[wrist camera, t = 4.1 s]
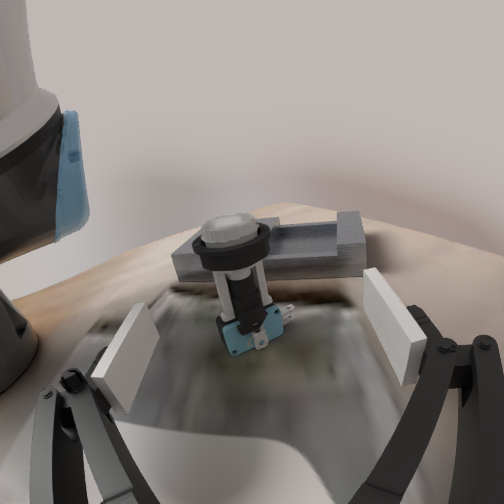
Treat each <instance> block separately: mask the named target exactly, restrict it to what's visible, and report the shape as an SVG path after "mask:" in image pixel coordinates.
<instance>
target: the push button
mask: <svg viewBox="0 0 504 504" xmlns="http://www.w3.org/2000/svg"><path fill="white" fill-rule="evenodd" d="M201 229H202V233H203V234H202V235H200V236H198V237H197V238H196V239H195V240H194V241H193V243H192V248H193V251H194V253H195V254H197V255H199V256H200V260H201V263H202V267H203V268H204V269H207V270H209V271H212V273H213V276H214V280H215V284H216V288H217V291H218V295H219V299H220V302H221V306H222V310H223V312H221V313H220V316H218V317H217V318H216V324H217V327H218V330H219V333H220V337H221V340H222V342H223V343H224V345H225V346H226V348H227V349H228V351H229V352H230V353H231V355H232V356H237V355H239V354H241V353H243V352H245V351H247V350H250V349H252V348H254V347H255V348H256V349H257V350H259V349H262V348H264V347H266V346H267V345H268V344H269V343H268V341H270V340H272V339H274V338H276V337H278V336H280V335H282V334H283V332H284V329H283V325H285V324H287V322H289V321H291V320H293V319H295V318H296V317H297V316H296V315H294V314H293V313H290V314H288V315H286V314H285V313H288V312H290V311H292V310H294V309H295V307H294V306H293V305H292V304H290V305H287V306H285V307H283V308H281V309H279V308H278V307H277V306H276V305H275V304H273V303H272V297H271V296H269V295H268V290H267V285H266V279H265V274H264V268H263V263H262V259H264V258H265V257H267V255H268V253H269V252H270V246H269V240H268V239H269V238H270V236H271V232H270V227H269V226H268V225H266V224H263V223H257V222H255V219H254V215H252V214H249V213H237V214H229V215H225V216H221V217H217V218H215V219H212V220H210V221H207V222H206V223H204V224H203V225H202V227H201ZM250 268H251V269H252V271H251V270H250ZM224 274H227V277H226V279H225V275H224ZM226 280H227V283H226ZM227 284H228V287H227ZM228 288H229V289H228ZM286 308H291V309H289V310H287V309H286ZM284 315H286V316H284ZM282 316H284V317H282ZM289 316H291V317H292V318H287V317H289ZM261 344H262V345H261Z"/></svg>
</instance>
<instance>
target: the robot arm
mask: <svg viewBox="0 0 504 504" xmlns="http://www.w3.org/2000/svg"><path fill="white" fill-rule="evenodd" d="M88 218H89V203H88V196H87V190H86V183H85V175H84V168H83V160H82V151H81V141H80V130H79V121H78V114H77V112H76V111H68V110H66V111H64V113H62V114H61V111H60V107H59V103H58V99H57V97H56V95H55V94H53V93H51V92H49V91H46V90H44V89H42V88H39V87H38V85H37V82H36V78H35V72H34V67H33V61H32V56H31V48H30V41H29V33H28V24H27V11H26V0H0V264H2V263H4V262H6V261H9V260H11V259H13V258H16V257H18V256H20V255H23V254H25V253H28V252H30V251H33V250H36V249H38V248H40V247H43V246H46V245H48V244H51V243H54V242H55V243H56V242H58V241H59V240H60V239H61V238H63V237H65V236H67V235H69V234H72V233H74V232H76V231H78V230H80V229H81V228H82V227H83V226H84V225H85V224H86V222H87V221H88ZM363 272H364V296H363V310H364V311H365V313H366V315H367V317H368V319H369V321H370V323H371V325H372V327H373V329H374V331H375V333H376V335H377V337H378V339H379V341H380V343H381V345H382V347H383V349H384V351H385V353H386V355H387V357H388V359H389V361H390V363H391V365H392V367H393V369H394V371H395V373H396V376H397V378H398V380H399V382H400V384H401V386H402V387H403V386H406V385H409V384H412V383H415V382H416V381H417V378H418V374H419V375H420V377H419V380H418V382H417V385H416V387H415V389H414V392H413V394H412V396H411V399H410V401H409V403H408V405H407V407H406V409H405V412H404V414H403V416H402V418H401V420H400V422H399V424H398V426H397V428H396V430H395V432H394V434H393V435H392V437H391V439H390V441H389V443H388V445H387V446H386V448H385V450H384V452H383V454H382V455H381V457H380V459H379V460H378V462H377V464H376V465H375V467H374V469H373V470H372V472H371V473H370V475H369V477H368V478H367V480H366V481H365V482H364V483H363V484H362V485H361V487H360V488H359V489H358V491H357V492H356V493H355V495H354V496H353V498H352V499H351V500H350V502H349V503H348V504H400V502H401V500H402V498H403V495H404V493H405V491H406V489H407V487H408V485H409V483H410V481H411V480H412V478H413V476H414V474H415V472H416V470H417V468H418V465H419V463H420V461H421V459H422V457H423V455H424V452H425V450H426V448H427V446H428V443H429V441H430V438H431V436H432V434H433V431H434V428H435V426H436V423H437V421H438V418H439V415H440V412H441V409H442V406H443V403H444V400H445V397H446V394H447V391H448V389H453V388H458V393H459V407H458V434H457V447H456V458H455V466H454V474H453V480H452V487H451V492H450V498H449V503H448V504H504V374H503V369H502V363H501V358H500V354H499V349H498V345H497V342H496V340H495V339H494V338H492V337H490V336H488V335H479V336H477V337H475V339H474V340H473V343H472V344H471V345H457V343H456V342H455V341H453V340H452V339H449V338H443V336H442V335H441V333H440V332H439V331H438V329H437V328H436V327H435V325H434V324H433V323H432V321H431V320H430V319H429V318H428V317H427V315H426V314H425V312H424V311H423V310H422V309H421V308H419V307H417V306H416V305H412V306H408V307H405V306H404V304H403V303H402V302H401V300H400V299H399V297H398V296H397V295H396V293H395V292H394V291H393V289H392V288H391V287H390V286H389V284H388V283H387V282H386V280H385V279H384V278H383V276H382V275H381V274H380V273H379V271H378V270H377V269H376V267H375V268H370V269H365V270H363ZM159 338H160V336H159V333H158V331H157V329H156V326H155V324H154V322H153V319H152V317H151V314H150V312H149V309H148V307H147V304H146V302H142V303H135V304H134V306H133V307H132V309H131V311H130V312H129V314H128V315H127V317H126V318H125V320H124V322H123V323H122V325H121V326H120V328H119V330H118V331H117V333H116V334H115V336H114V338H113V339H112V341H111V343H110V344H109V346H108V347H104V348H103V349H102V350H101V351H100V352H99V354H98V355H97V357H96V360H94V362H93V365H91V367H90V368H89V370H88V372H87V374H86V375H85V377H84V376H83V375H82V373H81V372H80V370H79V369H77V368H71V369H68V370H67V371H65V372H64V373H63V374H62V375H61V377H60V379H59V382H60V383H61V385H62V386H63V388H64V389H65V390H66V391H64V392H58V390H57V389H56V388H55V387H54V386H48V387H46V388H44V389H43V390H42V391H41V392H40V394H39V396H38V402H37V408H36V414H35V421H34V429H33V438H32V448H31V462H30V504H88V498H87V490H86V482H85V473H84V462H83V449H84V452H85V455H86V458H87V461H88V464H89V466H90V469H91V471H92V474H93V476H94V479H95V481H96V484H97V486H98V489H99V491H100V493H101V495H102V498H103V502H101V503H100V504H160V503H159V501H158V500H157V498H156V496H155V495H154V493H153V492H152V490H151V489H150V487H149V485H148V484H147V482H146V480H145V479H144V477H143V476H142V474H141V472H140V470H139V469H138V467H137V465H136V463H135V461H134V460H133V458H132V456H131V454H130V452H129V450H128V449H127V446H126V444H125V443H124V441H123V439H122V437H121V434H120V432H119V431H118V428H117V426H116V424H115V422H114V420H113V417H112V415H111V414H110V413H109V410H110V408H111V407H112V408H113V410H114V411H115V412H116V413H117V414H127V415H128V414H129V412H130V409H131V407H132V404H133V401H134V399H135V396H136V394H137V391H138V389H139V386H140V384H141V381H142V379H143V376H144V374H145V371H146V369H147V367H148V364H149V362H150V359H151V357H152V355H153V352H154V350H155V348H156V345H157V343H158V340H159ZM37 346H38V337H37V335H36V333H35V331H34V329H33V328H32V326H31V324H30V322H29V321H28V319H27V318H26V317H25V316H24V315H23V314H22V313H21V312H20V311H19V310H18V309H17V307H16V306H15V305H14V304H13V303H12V302H11V301H10V300H9V299H8V297H7V296H6V295H5V294H4V293H3V292H2V290H1V289H0V393H1V392H2V391H4V390H5V389H6V388H8V387H9V386H10V385H11V384H12V383H13V382H14V381H15V380H16V379H17V378H18V377H19V376H20V375H21V374H22V373H23V372H24V370H25V369H26V368H27V366H28V365H29V364H30V362H31V360H32V359H33V357H34V355H35V352H36V350H37Z"/></svg>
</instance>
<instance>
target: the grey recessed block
mask: <svg viewBox="0 0 504 504" xmlns="http://www.w3.org/2000/svg"><path fill="white" fill-rule="evenodd" d="M255 222H257V223H263V224H266V225H268V226H269V227H270V232H271V236H270V238H269V239H268V240H269V246H270V252H269V253H268V255H267V257H265V258H264V259H262V263H263V268H264V274H265V279H266V280H287V279H313V278H336V277H356V276H364V272H363V270H365V269H367V250H366V239H365V235H364V230H363V226H362V222H361V217H360V214H359V211H352V212H337V221H331V222H317V223H303V224H290V225H280V220H279V217H274V218H263V219H255ZM202 234H203V233H202V229H201V230H199V231H198V232H197V233H196V234H195V235H193V236H192V237H191V238H190V239H189V240H188V241H186V242H185V243H184V244H183V245H182V246H180V247H179V248H178V249H177V250H176V251H175V252H173V253H172V254H171V257H172V260H173V263H174V267H175V270H176V273H177V276H178V279H179V282H204V281H215V280H214V276H213V273H212V271H209V270H207V269H204V268H203V267H202V263H201V260H200V256H199V255H197V254H195V253H194V251H193V248H192V243H193V241H194V240H195V239H196V238H197V237H198V236H200V235H202ZM250 270H251V271H252V269H251V268H250ZM224 275H225V279H226V277H227V274H224ZM226 281H227V280H226Z"/></svg>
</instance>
